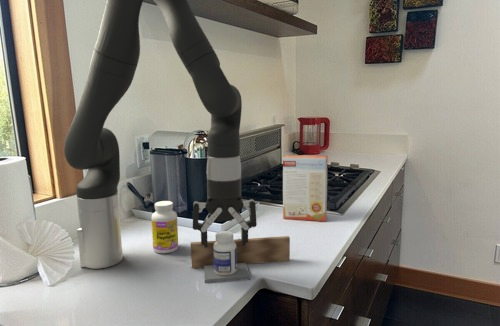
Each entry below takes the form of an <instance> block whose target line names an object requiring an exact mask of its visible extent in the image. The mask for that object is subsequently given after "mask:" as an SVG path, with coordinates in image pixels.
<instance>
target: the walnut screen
mask: <svg viewBox="0 0 500 326" xmlns="http://www.w3.org/2000/svg"><path fill="white" fill-rule="evenodd" d="M290 239H291V237H290V236H289V235H285V236H284V235H283V236H267V237H256V238H255V237H254V238H248V242H247V243H245V245H244V246H242V243H241V238H239V239H237V238H236V239H233V241H234V242H235V243H236V249H237V263H246V264H247V265H253V264H263V263H264V264H265V263H278V262H290V261H291V260H290V259H291V258H290V257H291V254H290V253H291V252H290V250H291V249H290V247H291V243H290V242H291V240H290ZM216 242H217V241H216V240H207V244H208V247H206V248H204V245H202V244H201V241H192V242H190V257H191V258H190V260H191V261H190V264H191V269H192V268H193V269H194V268H196V269H197V268H198V269H199V268H204V266H206V265H214V253H213V246H214V244H215V243H216Z"/></svg>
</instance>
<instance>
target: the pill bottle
mask: <svg viewBox="0 0 500 326" xmlns="http://www.w3.org/2000/svg"><path fill="white" fill-rule="evenodd" d="M233 240H234V233H233V232H232V231H230V230H229V231H228V230H223V231H218V232H216V233H215V241H217V242H216V243H215V244H214V246H213V253H214V271H215V273H216V274H219V275H231V274H233V273H235V272H236V271H237V249H236V243H235V242H234V241H233Z"/></svg>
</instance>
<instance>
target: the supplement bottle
mask: <svg viewBox="0 0 500 326" xmlns="http://www.w3.org/2000/svg"><path fill="white" fill-rule="evenodd" d="M173 209H174V202H172V201H170V200H161V201H157V202H155V203H154V210H155V211H154V212H153V213H152V214H151V232H152V233H151V235H152V248H153V249H152V250H153V251H154V252H155V253H158V254H170V253H173V252H175V251H176V250H177V249H178V248H179V238H178V237H179V231H178V230H179V228H178V214H177V212H176V211H175V210H173Z"/></svg>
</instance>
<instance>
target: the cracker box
mask: <svg viewBox="0 0 500 326" xmlns="http://www.w3.org/2000/svg"><path fill="white" fill-rule="evenodd" d="M327 204H328V156H327V155H307V154H306V155H304V154H303V155H300V154H299V155H297V154H295V155H293V154H292V155H291V154H286V155H285V156H283V158H282V218H283V219H285V220H296V221H297V220H299V221H311V222H312V221H313V222H326V220H327V216H328V214H327V213H328V212H327V210H328V205H327Z"/></svg>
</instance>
